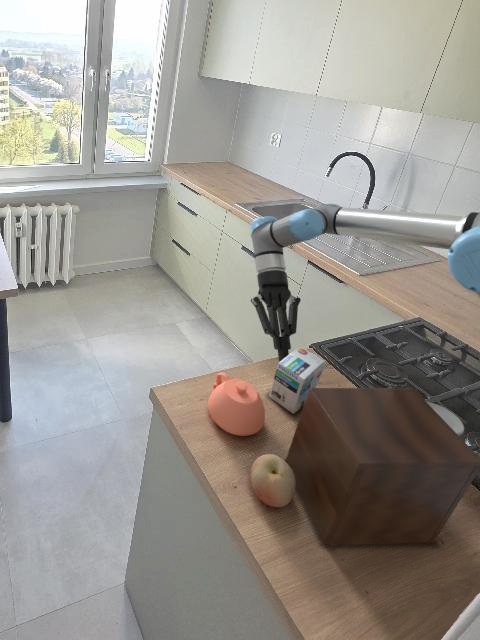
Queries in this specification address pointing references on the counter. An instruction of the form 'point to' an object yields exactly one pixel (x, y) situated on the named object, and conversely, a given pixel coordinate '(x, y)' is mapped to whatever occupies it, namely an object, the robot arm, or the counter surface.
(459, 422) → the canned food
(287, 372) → the light bulb box
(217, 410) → the sugar bowl
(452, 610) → the counter surface
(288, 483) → the fruit
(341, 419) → the block
